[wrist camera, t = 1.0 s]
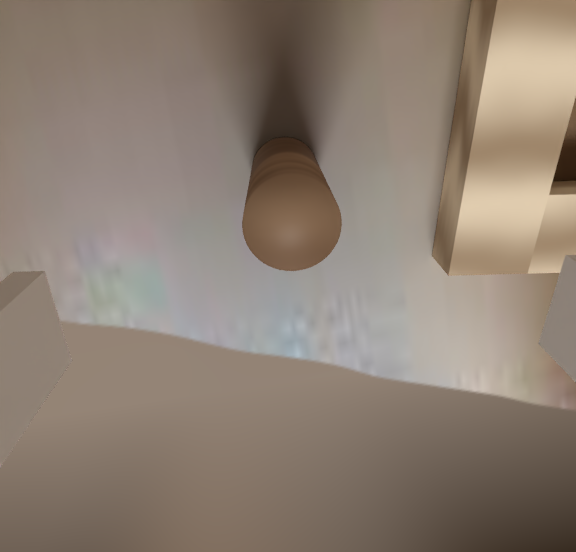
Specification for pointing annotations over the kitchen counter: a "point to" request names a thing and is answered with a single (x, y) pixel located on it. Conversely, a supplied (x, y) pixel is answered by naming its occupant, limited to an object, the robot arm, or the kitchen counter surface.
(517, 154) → the socket block
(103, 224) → the kitchen counter surface
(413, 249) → the kitchen counter surface
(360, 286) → the kitchen counter surface
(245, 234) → the peg
